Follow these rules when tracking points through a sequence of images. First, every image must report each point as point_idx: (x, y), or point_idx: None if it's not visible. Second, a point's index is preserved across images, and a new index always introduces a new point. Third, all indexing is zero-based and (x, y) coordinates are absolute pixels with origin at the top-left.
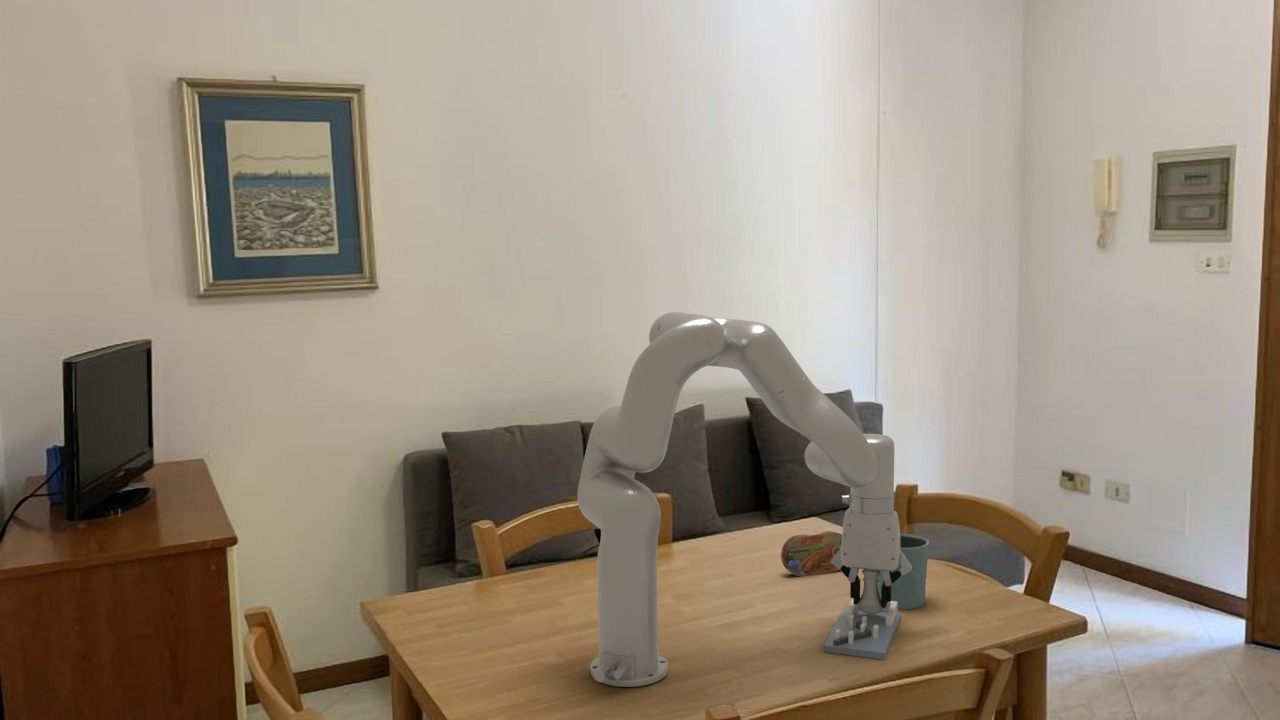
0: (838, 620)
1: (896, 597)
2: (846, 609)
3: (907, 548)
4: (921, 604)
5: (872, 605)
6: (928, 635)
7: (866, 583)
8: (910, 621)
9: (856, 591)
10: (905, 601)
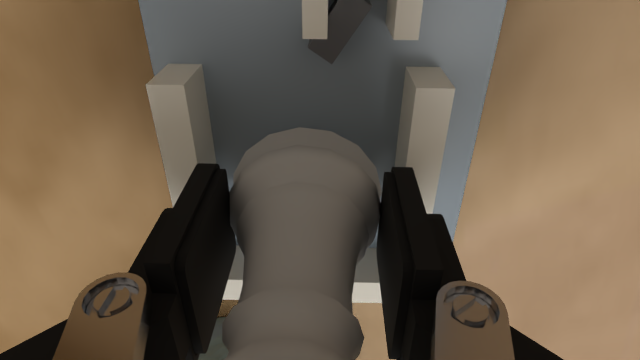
0: (484, 66)
1: None
2: None
3: None
4: None
5: (279, 155)
6: (5, 83)
7: (325, 290)
8: (150, 220)
9: (404, 225)
10: None
